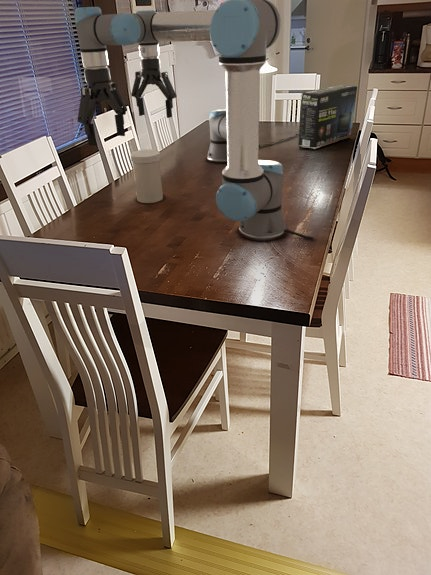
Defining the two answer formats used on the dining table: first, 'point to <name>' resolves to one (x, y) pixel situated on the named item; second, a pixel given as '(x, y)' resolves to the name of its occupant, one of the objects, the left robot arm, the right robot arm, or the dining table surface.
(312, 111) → the router box
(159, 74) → the left robot arm
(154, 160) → the lid
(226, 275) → the dining table surface
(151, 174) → the jar
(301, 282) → the dining table surface
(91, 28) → the right robot arm
